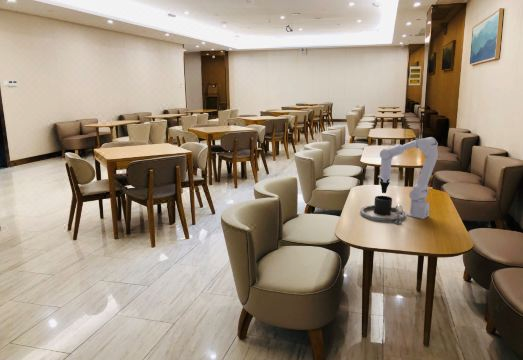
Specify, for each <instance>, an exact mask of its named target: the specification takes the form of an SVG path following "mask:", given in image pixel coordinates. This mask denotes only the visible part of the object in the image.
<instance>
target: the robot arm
mask: <svg viewBox="0 0 523 360" xmlns="http://www.w3.org/2000/svg"><path fill="white" fill-rule="evenodd" d="M438 145H439V143H438V141H437V140H436V138H434V137H433V136H429V137H425V138H419V139H415V140H411V141H409V142H406V143H404V144H400V143H394V145H392V146H388V147H387V148H383V149H382V150H380V152H379V157H380V158H381V160H380V172H379V173H380V174H379V175H377V178H379V179H380V181H379V184H380V188H381V193H382V194H387V190H388V188H389V185H390V184H391V182H390V179H391V171H392V161H393V158H394V157H397V156H400V155H402V154H404V152H405V151H407V150H410V149H413V148H416V149H419V151H421V152H422V153H423V154H424V155H425V157H426V158H425V160H424V162H423V166H422V169H421V171H420V173H419V177H418V179H417V182H416V184H415V185H414V186H413V188H412V189H411V190H410V191H409V193H408V194H409V195H408V196H409V198H410V208H409V209H410V210H409V213H407V214H406V215H407V216H408V217H413V218H418V219H421V220H424V219H426V218H428V217H429V216H430V202H429V201H426V198H427V197H428V195H429V186H428V184H429V181H430V179H431V176H432V174H433V170H434V168H435V165H436V163H437V161H438V157H439V152H438Z"/></svg>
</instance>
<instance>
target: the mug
mask: <svg viewBox="0 0 523 360" xmlns="http://www.w3.org/2000/svg"><path fill="white" fill-rule="evenodd" d="M373 205H374V209H373V213H374V214H375V215H377V216H383V217H385V216H391V214H392V211H391V207H393V198H392V197H391V196H387V195H376V196H375V197H374V204H373Z"/></svg>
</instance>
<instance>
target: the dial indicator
mask: <svg viewBox="0 0 523 360" xmlns="http://www.w3.org/2000/svg"><path fill="white" fill-rule="evenodd" d="M395 208H396V212H395V213H397V214H396V216H394V218H397V221H394V222H393V224H395V225H397V226H398V225H402V224H403V222H402V221H399V217H400V215H401V214H400V213H402V211H404V210H403V206H402V205H401V204H396V206H395Z"/></svg>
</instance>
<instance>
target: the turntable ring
mask: <svg viewBox="0 0 523 360" xmlns="http://www.w3.org/2000/svg"><path fill="white" fill-rule="evenodd" d="M370 210H374V204H371V205H365V206H363V207H361V208H360V211H359V214H360V216H361V217H364V218H365V219H368V220H371V221H376V222H381V223H382V222H383V223H394V221H397V218H395V217H381V216H375V215H371V214H369V213H366V211H370ZM391 212H395V213H397V212H396V207H394V206H392V207H391ZM405 219H406V212H405V211H404V210H403V211H402V213H400V217H399V221H400V222H402V221H403V220H405Z"/></svg>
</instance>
